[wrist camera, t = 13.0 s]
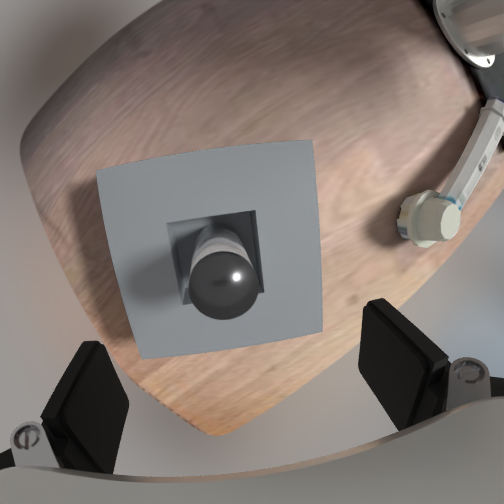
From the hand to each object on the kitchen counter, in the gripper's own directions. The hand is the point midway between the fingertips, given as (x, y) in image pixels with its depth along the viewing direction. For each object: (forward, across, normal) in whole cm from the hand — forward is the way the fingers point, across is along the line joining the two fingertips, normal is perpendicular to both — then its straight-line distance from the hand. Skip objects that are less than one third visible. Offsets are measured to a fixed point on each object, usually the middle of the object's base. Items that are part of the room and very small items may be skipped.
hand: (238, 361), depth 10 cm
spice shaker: (+16, 0, 0) cm, 16 cm away
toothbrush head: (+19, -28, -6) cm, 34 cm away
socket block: (+18, +1, 0) cm, 18 cm away
